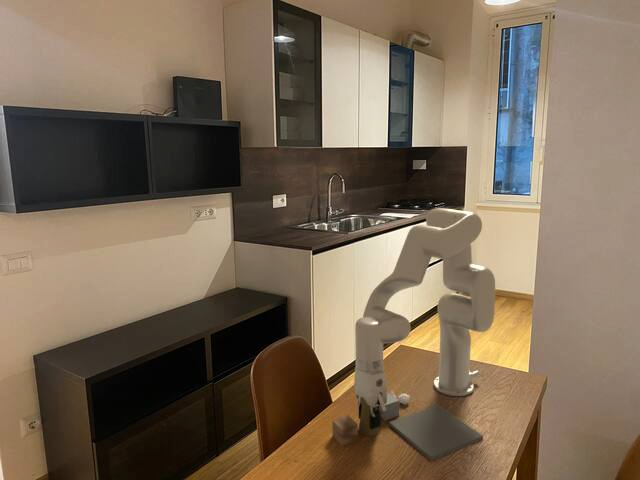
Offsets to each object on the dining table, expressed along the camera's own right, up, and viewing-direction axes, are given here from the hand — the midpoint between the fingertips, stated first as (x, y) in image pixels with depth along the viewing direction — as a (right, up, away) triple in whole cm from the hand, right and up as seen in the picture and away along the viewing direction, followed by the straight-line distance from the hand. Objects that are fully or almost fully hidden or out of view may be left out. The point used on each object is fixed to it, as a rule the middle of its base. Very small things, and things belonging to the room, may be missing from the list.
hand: (369, 421), depth 136 cm
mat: (+18, -2, -1) cm, 18 cm away
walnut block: (-7, -3, -3) cm, 8 cm away
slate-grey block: (+6, -1, +8) cm, 10 cm away
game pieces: (+9, +1, +17) cm, 19 cm away
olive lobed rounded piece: (0, -3, +1) cm, 3 cm away
